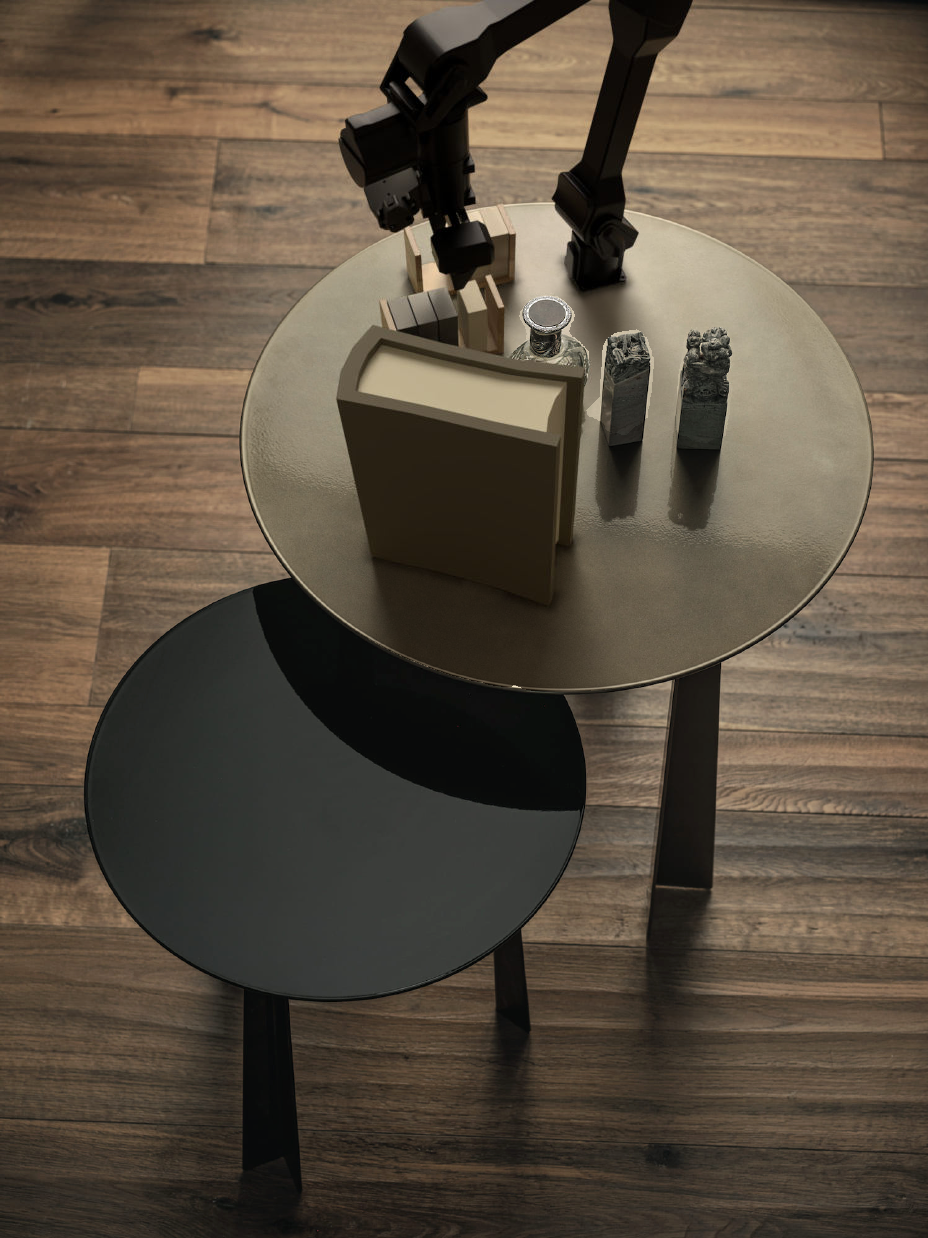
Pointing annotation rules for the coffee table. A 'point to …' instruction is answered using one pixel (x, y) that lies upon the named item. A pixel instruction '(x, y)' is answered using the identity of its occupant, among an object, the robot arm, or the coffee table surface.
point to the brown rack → (500, 269)
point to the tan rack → (443, 317)
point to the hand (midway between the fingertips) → (448, 261)
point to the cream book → (472, 317)
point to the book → (463, 457)
